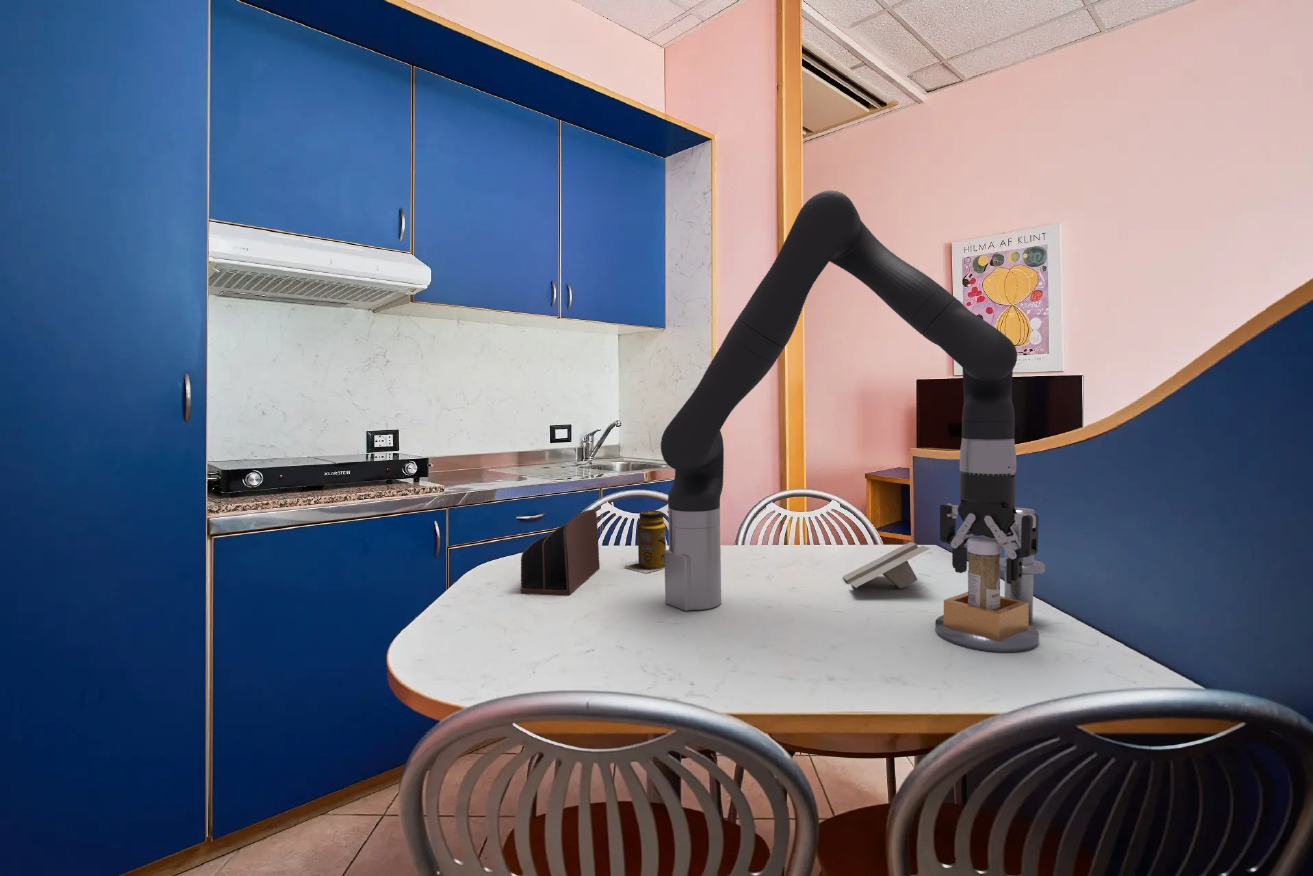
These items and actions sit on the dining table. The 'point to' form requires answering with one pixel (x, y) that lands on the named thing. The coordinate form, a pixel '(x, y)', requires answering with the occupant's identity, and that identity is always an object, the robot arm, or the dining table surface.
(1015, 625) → the caddy stand
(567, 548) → the letter holder
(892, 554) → the tilted grey ramp
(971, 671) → the dining table surface
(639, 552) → the condiment
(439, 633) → the dining table surface
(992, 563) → the sprinkles bottle
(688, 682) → the dining table surface
